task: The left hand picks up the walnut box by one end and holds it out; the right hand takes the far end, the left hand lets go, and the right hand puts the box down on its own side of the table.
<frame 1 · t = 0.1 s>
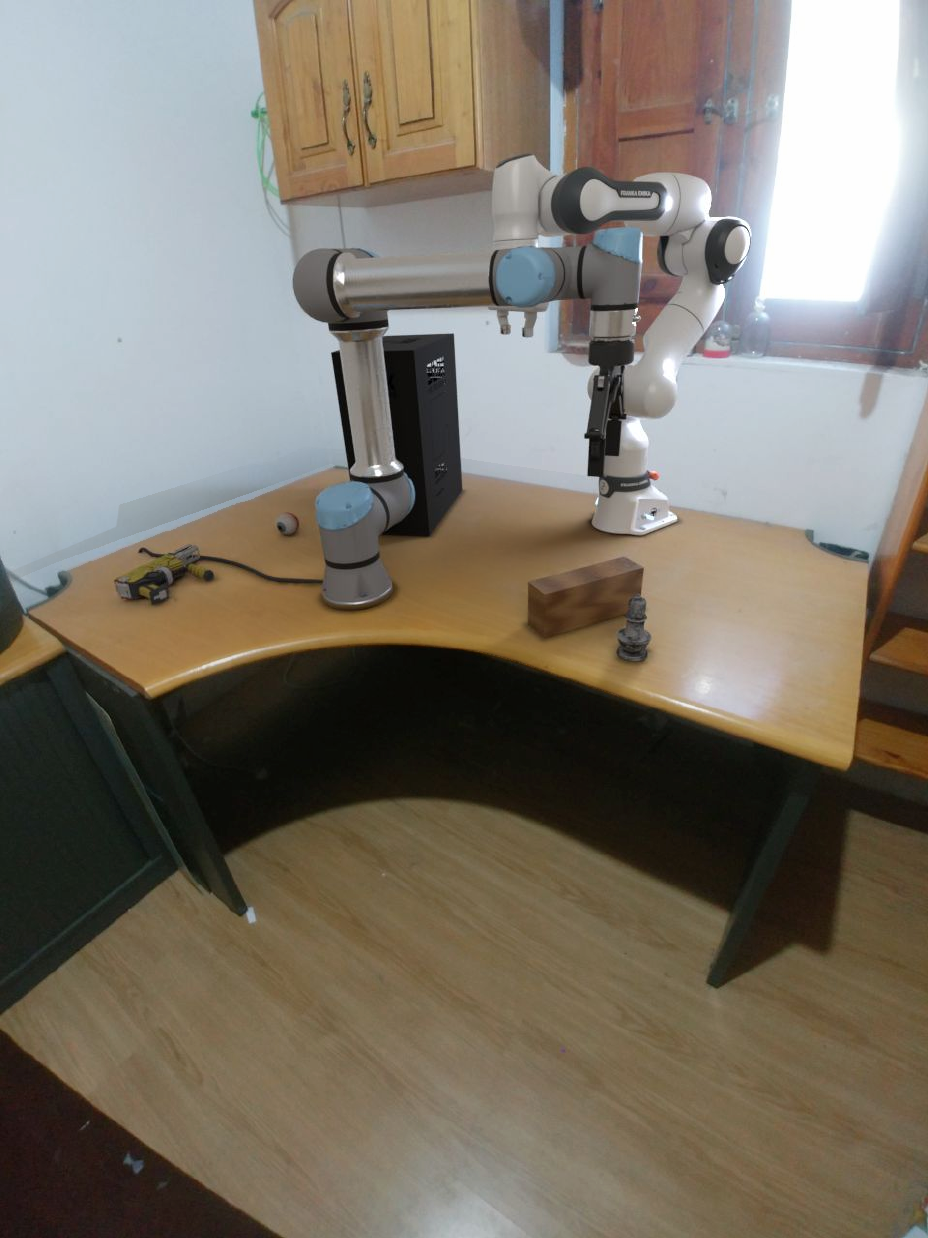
left hand: (603, 465, 111), 28 cm above the table, tool pointing down, fingers open, 13 cm apart
right hand: (516, 335, 125), 48 cm above the table, tool pointing down, fingers open, 8 cm apart
toy gun: (180, 582, 142), on the table
box: (584, 617, 118), on the table
black computer tower: (414, 510, 177), on the table
grey chess piece: (632, 653, 107), on the table
eyeball: (289, 534, 165), on the table
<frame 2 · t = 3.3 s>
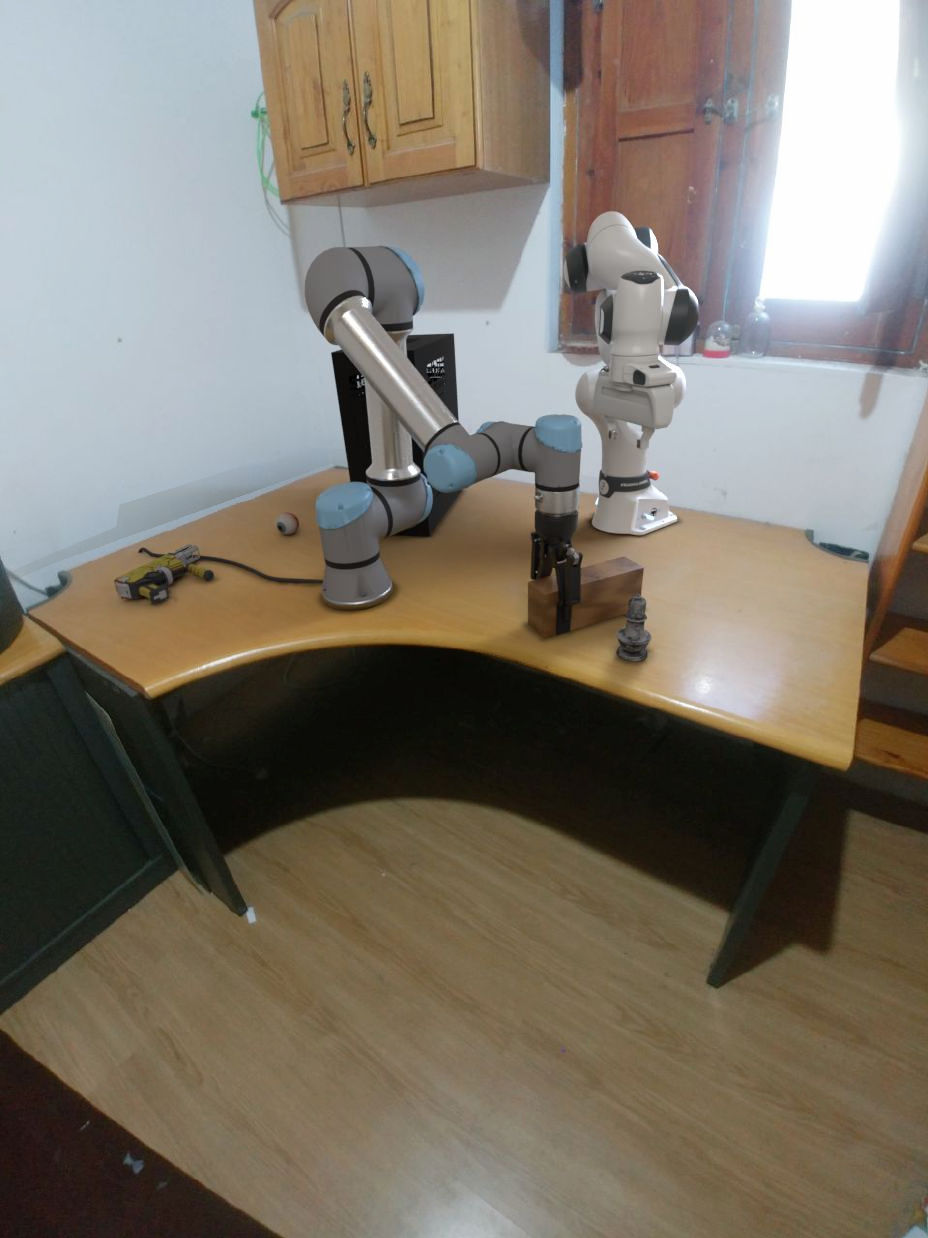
left hand: (553, 624, 116), 1 cm above the table, tool pointing down, fingers closed on box, 6 cm apart
right hand: (626, 443, 121), 28 cm above the table, tool pointing down, fingers open, 8 cm apart
box: (584, 617, 118), on the table, touching left hand
everything else where it was.
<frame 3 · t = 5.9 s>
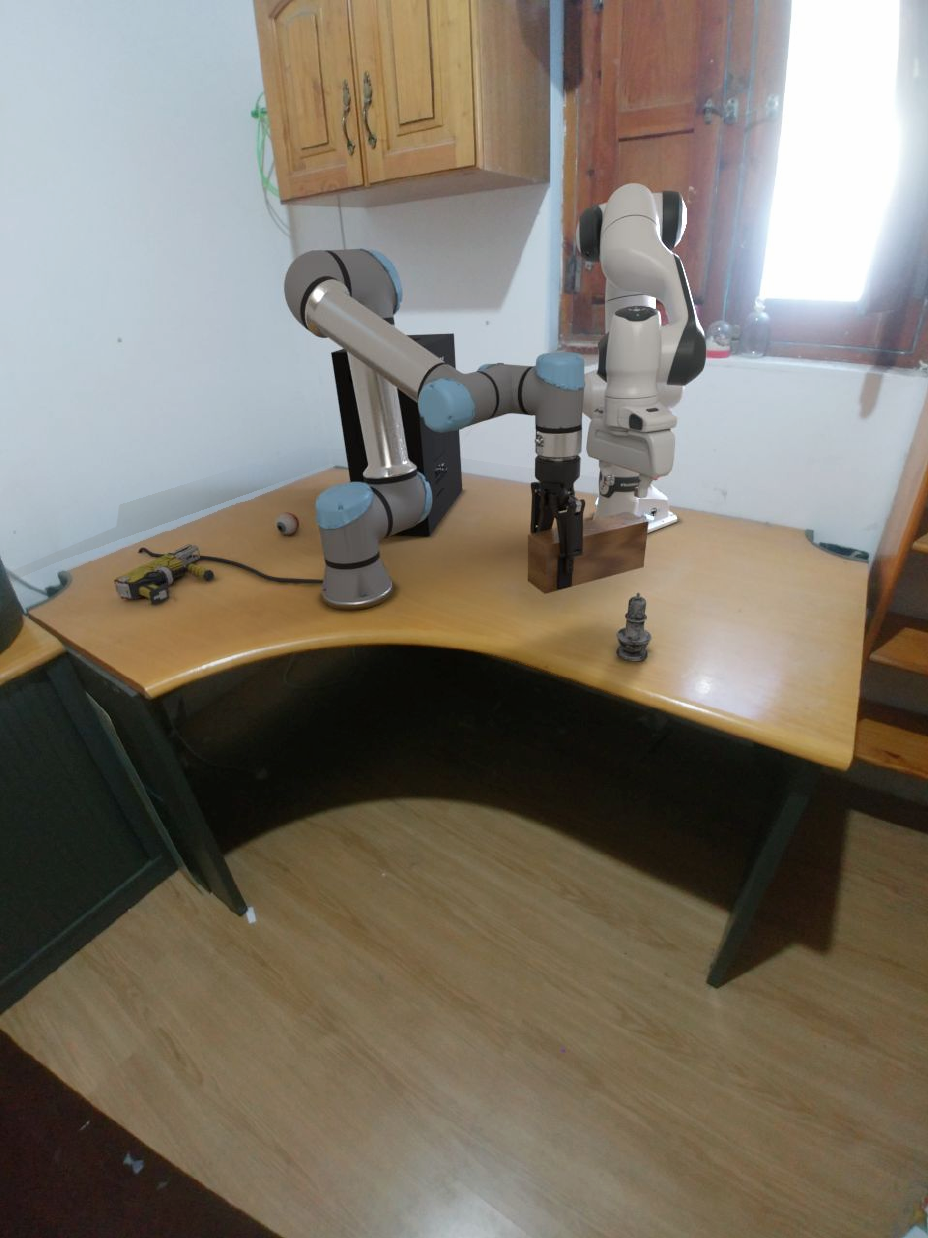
left hand: (554, 580, 111), 10 cm above the table, tool pointing down, fingers closed on box, 6 cm apart
right hand: (623, 490, 111), 24 cm above the table, tool pointing down, fingers open, 8 cm apart
box: (586, 574, 114), point 9 cm above the table, touching left hand
everything else where it was.
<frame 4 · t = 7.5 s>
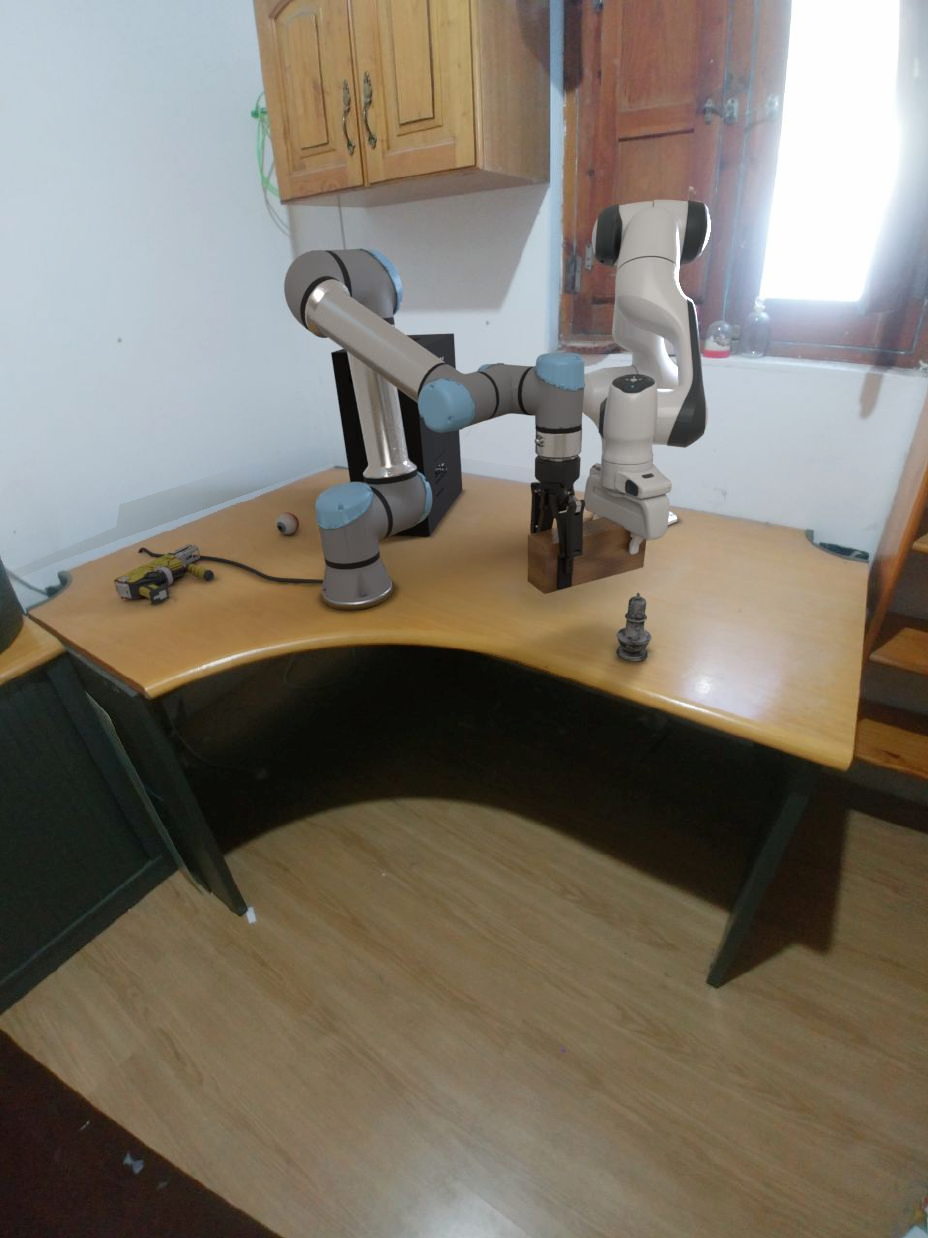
left hand: (554, 580, 111), 10 cm above the table, tool pointing down, fingers closed on box, 6 cm apart
right hand: (619, 545, 114), 14 cm above the table, tool pointing down, fingers closed on box, 6 cm apart
box: (586, 574, 114), point 9 cm above the table, touching right hand, left hand
everything else where it was.
when the left hand's fingers open (10 cm above the table, at t = 8.5 s): box stays where it is, held by the right hand.
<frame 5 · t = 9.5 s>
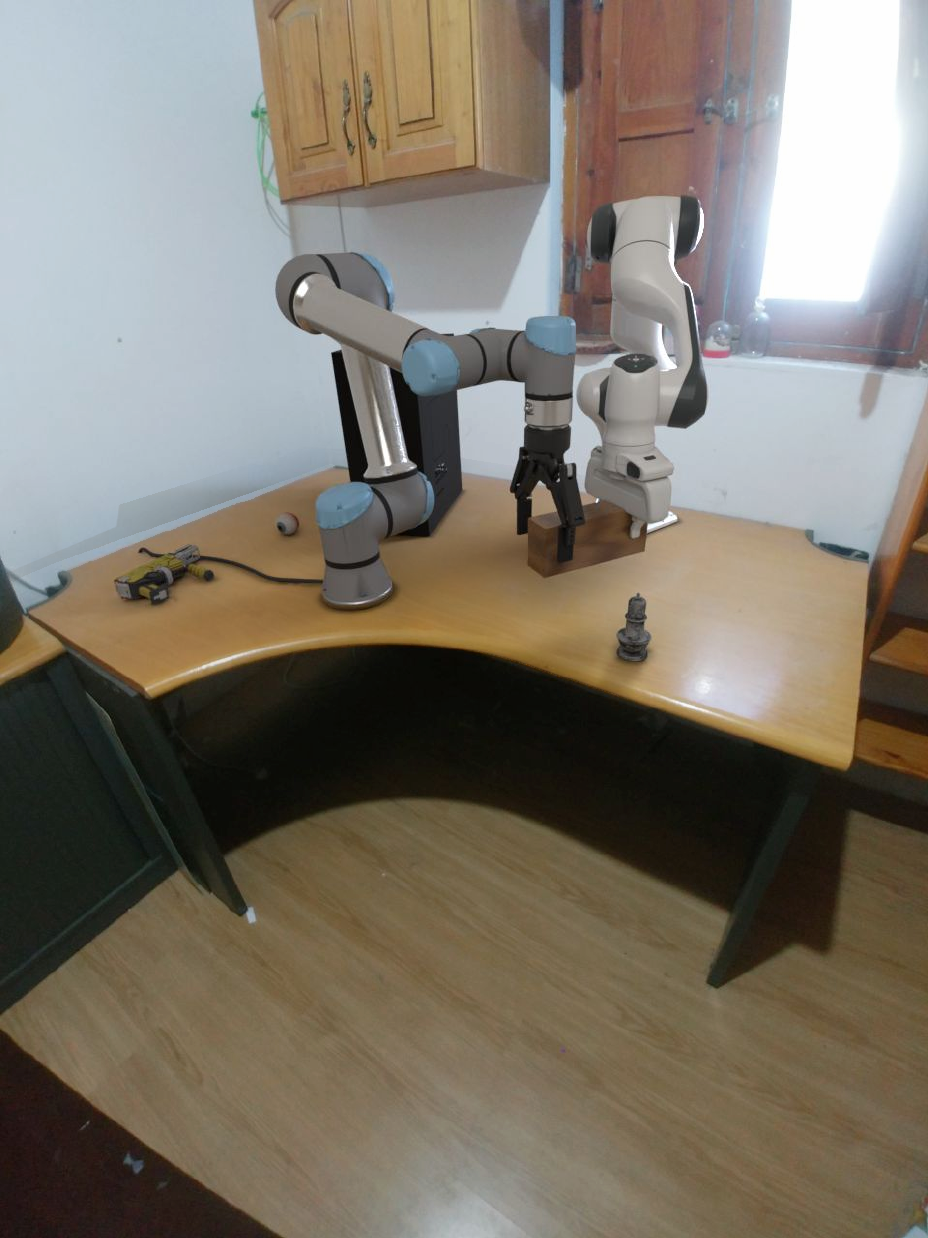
left hand: (543, 546, 107), 17 cm above the table, tool pointing down, fingers open, 13 cm apart
right hand: (620, 529, 113), 17 cm above the table, tool pointing down, fingers closed on box, 6 cm apart
box: (586, 558, 113), point 12 cm above the table, touching right hand
everything else where it was.
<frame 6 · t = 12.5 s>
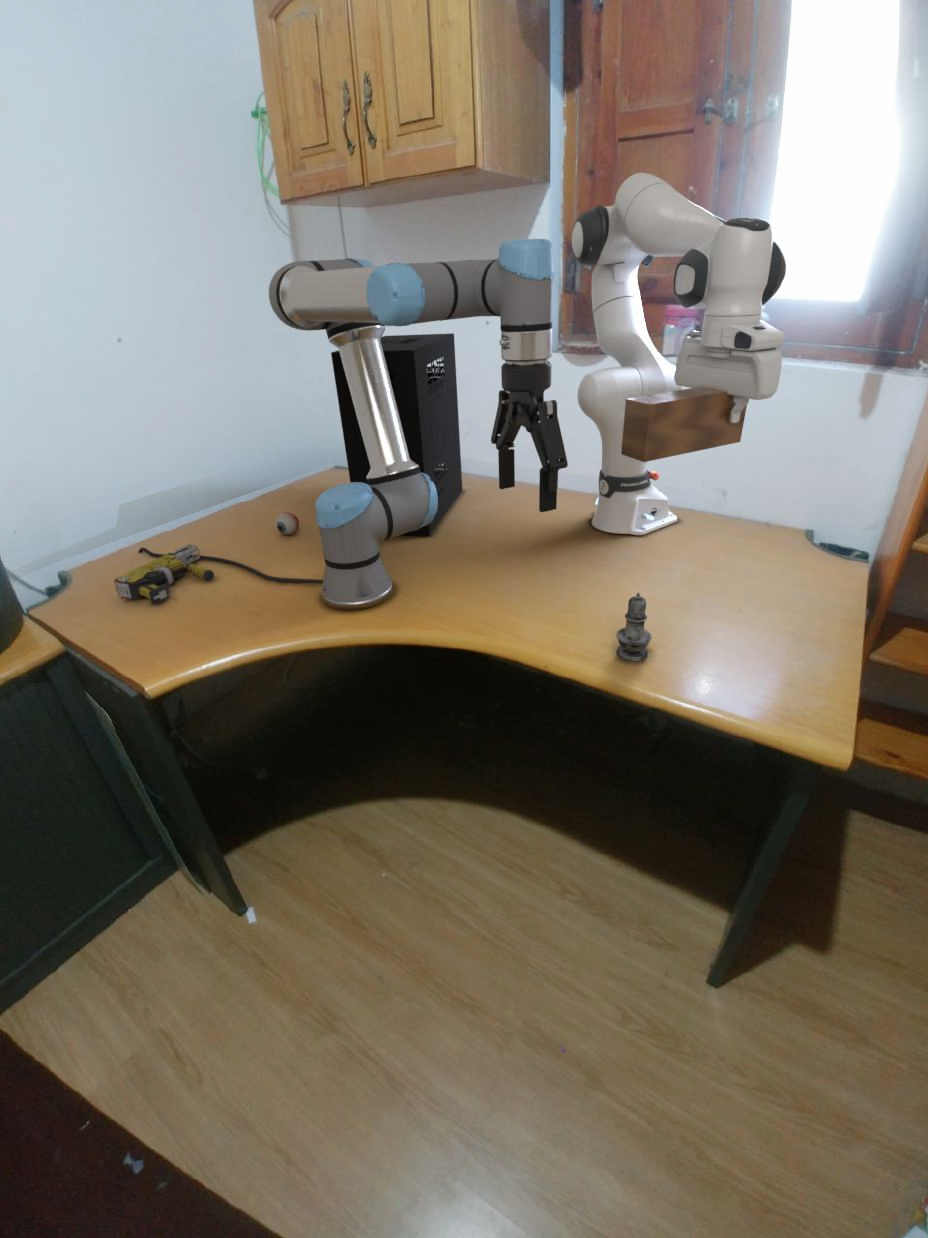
left hand: (526, 498, 101), 27 cm above the table, tool pointing down, fingers open, 13 cm apart
right hand: (716, 418, 108), 35 cm above the table, tool pointing down, fingers closed on box, 6 cm apart
box: (681, 448, 108), point 31 cm above the table, touching right hand
everything else where it was.
when the right hand's fingers open (6 cm above the table, at t = 17.8 s): box stays where it is, on the table.
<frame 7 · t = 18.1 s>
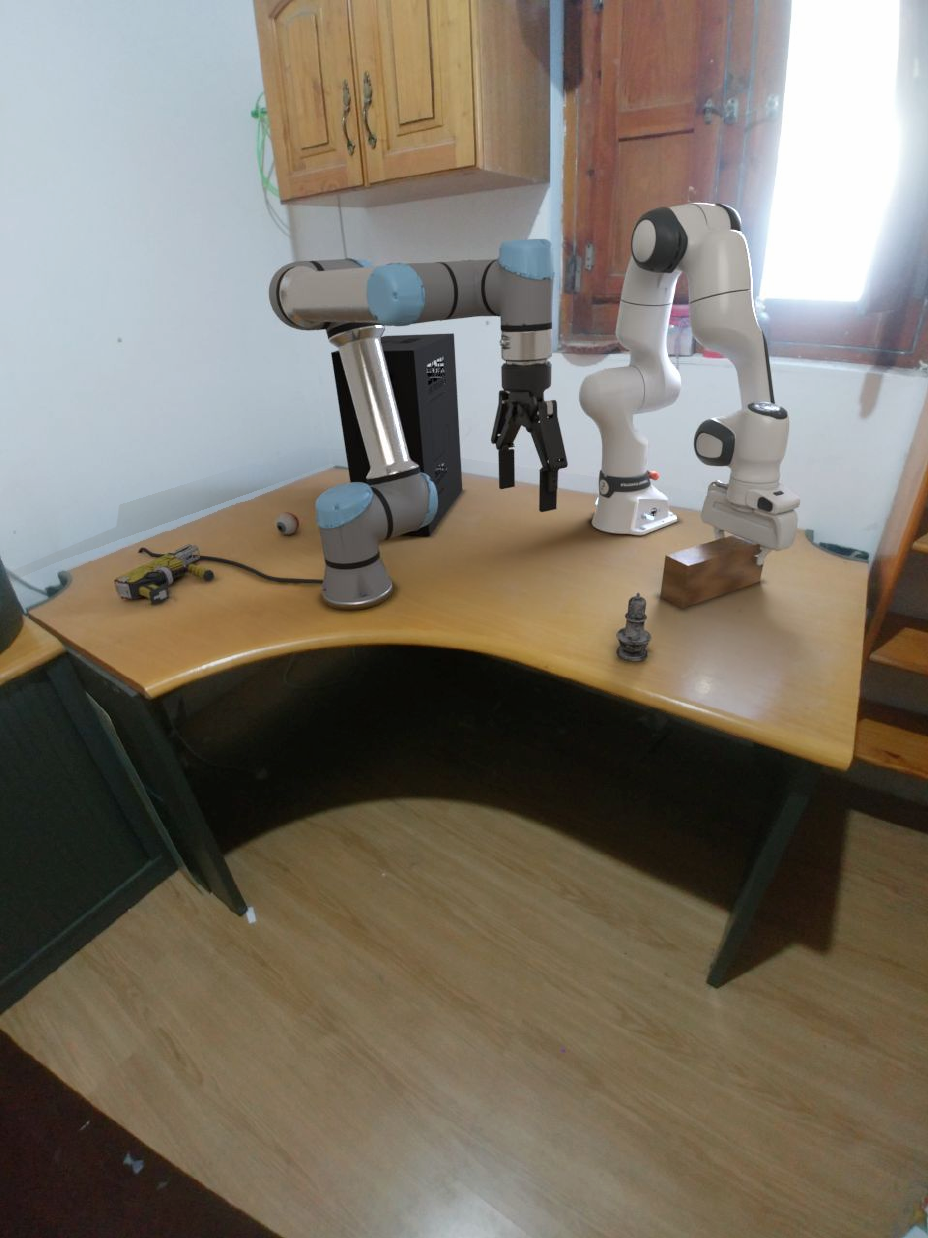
left hand: (526, 498, 101), 27 cm above the table, tool pointing down, fingers open, 13 cm apart
right hand: (738, 555, 125), 6 cm above the table, tool pointing down, fingers open, 8 cm apart
box: (710, 589, 126), on the table
everything else where it was.
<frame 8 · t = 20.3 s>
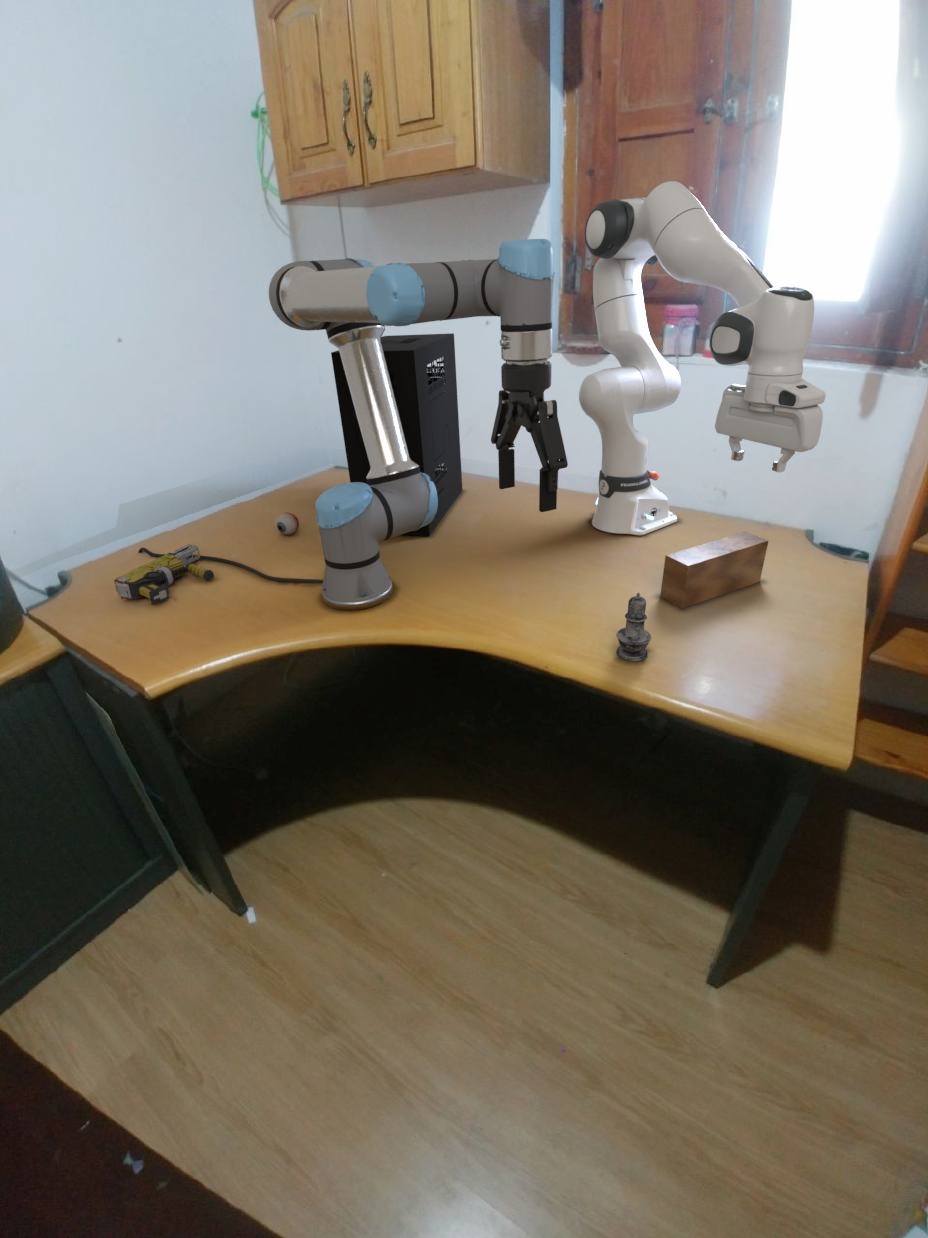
left hand: (526, 498, 101), 27 cm above the table, tool pointing down, fingers open, 13 cm apart
right hand: (756, 465, 116), 25 cm above the table, tool pointing down, fingers open, 8 cm apart
nothing on the table moved.
at the end: box inside the target area (6.7 cm from its centre), on the table; the left hand is holding nothing; the right hand is holding nothing; box at rest at the end (0.0 cm/s) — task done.
